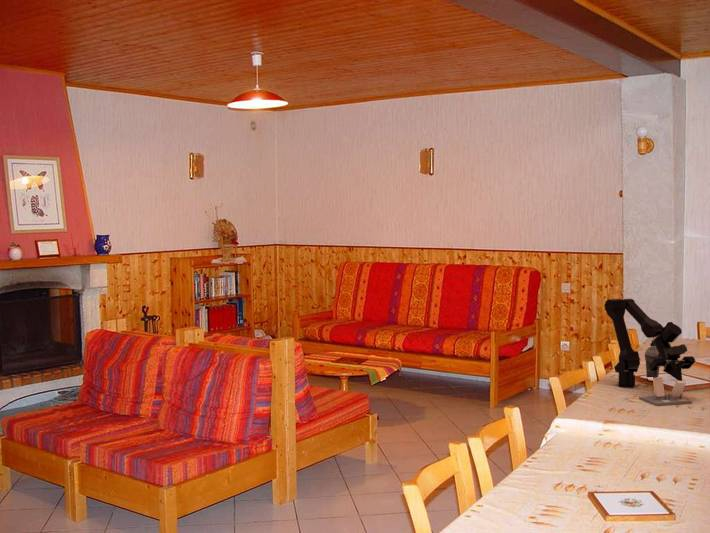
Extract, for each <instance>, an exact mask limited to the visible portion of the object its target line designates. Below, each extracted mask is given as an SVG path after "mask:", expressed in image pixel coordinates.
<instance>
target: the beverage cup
mask: <svg viewBox="0 0 710 533" xmlns="http://www.w3.org/2000/svg"><path fill="white" fill-rule="evenodd" d="M655 338H656V337H652V340H654V339H655ZM658 354H659V353H658V351H657V349H656V347H654V346H650V347H648V348H647V349H646V350H645V352H644V359H645V370H646V378H647V377H653V378H657V377H659V374H660V373H659V372H660V366H657V367H658V369H657V371H650V369H649V364H650V363H651V361H652V360H653V359H654V358H661V357H658Z"/></svg>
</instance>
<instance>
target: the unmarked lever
mask: <svg viewBox="0 0 710 533" xmlns="http://www.w3.org/2000/svg"><path fill="white" fill-rule="evenodd" d="M652 383H653V384H652V385H653V391H654V395H656V398H665V394H666V393H665V388H664V379H663V377H662V376H660V377H659V376H658V378H653V382H652Z"/></svg>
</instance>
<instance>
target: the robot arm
mask: <svg viewBox="0 0 710 533" xmlns="http://www.w3.org/2000/svg"><path fill="white" fill-rule="evenodd" d="M604 309H605V312H606V314H607V316H608V317H609V318H610V319H611V320H612V324H613V327H614V332H615V335H616V339H617V342H618V346H619V350H620V351H619V355H618V362H617V364H616V365H615V366H614V368H613V369H614V372H615V373H617V374H618V382H617V385H618V387H620V388H622V387H623V388H634V387H635V386H636V375H635V373H637V372H638V370H639V367H640V366H641V357H640V355H639V354H640V353H639V352H638V351H637V350H634V349H633V347H632V344H631V341H630V336H629V332H628V329H627V325H626V322H625V314H626V312H627V313H628V314H629V315H630V316H631V317H632V318H633V319H634V320H635V321H636V322H637V323H638V325H640V330H641V332H642V333H643V335H644V336H645V337H646V338H649V339H650V338H652V340H651V342H650V347H653V346H654V347H656V349H657V351H658V353H659V354H658V357H661V358H654V359H653V360H652V361H651V363H650V364H649V369H650V371H657V369H658V367H657V366H659V367H663V370H662V372H663V373H666V374H669V376H671V377H673V378H674V379H675V380H676V381H682V380H683V376H682V374H683V373H682V370H688V369H690V368H692V366H693V365H695V363H696V361H697V360H696V359H695V357H694V356H692V355H689V356H688V355H687V356H686V355H685V356H683V357H682V359H680V358H681V355H684V354H685V353H686V352H688V347H687V345H686V344H679V345H673V346H672V345H671V343H674V342H675V341H676V340H677V338H679V337H680V335H681V334H682V333H683V330H682V328H681V327H680V326H679V325H678V324H676V323H675V324H674V323H673V321H668V322H666V325H665V326H663V325H662V324H661V323H660V322H658V321H657V320H654V319H652V318H650V317H649V315H647V313H645V311H643V309H641V307H640V306H639V304H637V303H636V301H635V300H634V299H632V298H623V299H622V298H610V299H609V298H608V299H607V300H605V302H604ZM653 338H655V339H654V340H653Z"/></svg>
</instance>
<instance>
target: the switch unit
mask: <svg viewBox="0 0 710 533" xmlns="http://www.w3.org/2000/svg"><path fill="white" fill-rule="evenodd" d="M664 394H665V398H656V395H655V393H654V394H652V395H646V396H639V398H638V399H639V400H640V401H642V402H645V403H648V404H650V405H653V406H656V407H662V406H663V407H664V406H676V405H677V406H678V405H690V404H692V405H693V401H692V400H689V399H687V398H683V392H682V393H681V395H680V397H671V393H664Z"/></svg>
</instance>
